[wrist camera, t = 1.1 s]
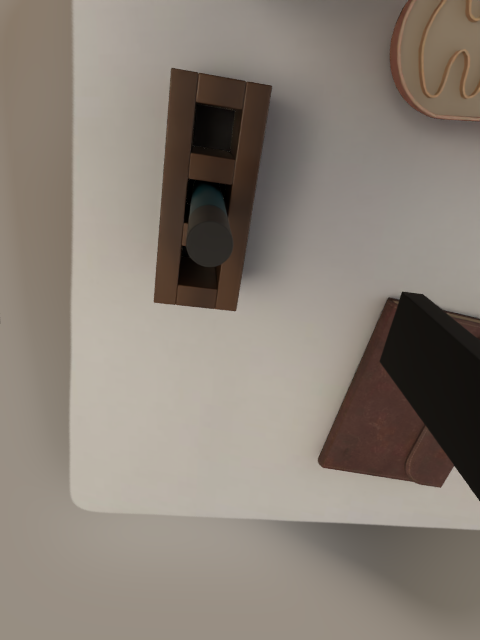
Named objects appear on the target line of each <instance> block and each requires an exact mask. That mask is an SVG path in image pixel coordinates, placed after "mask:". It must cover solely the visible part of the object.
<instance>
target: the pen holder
mask: <svg viewBox="0 0 480 640" xmlns="http://www.w3.org/2000/svg"><path fill="white" fill-rule="evenodd" d="M271 91H272V86H270V85H265V84H259V83H254V82H246V81H242V80H237V79H231V78H225V77H220V76H214V75H209V74H203V73H199V74H198V73H197V72H192V71H186V70H181V69H175V68H172V69H171V78H170V91H169V105H168V118H167V132H166V145H165V158H164V172H163V185H162V198H161V212H160V225H159V238H158V252H157V265H156V278H155V292H154V303H163V304H173V305H175V304H176V305H182V306H192V307H201V308H210V309H220V310H229V311H236V309H237V302H238V296H239V290H240V284H241V278H242V271H243V265H244V259H245V253H246V246H247V240H248V234H249V228H250V222H251V215H252V209H253V203H254V197H255V190H256V184H257V178H258V172H259V166H260V159H261V153H262V147H263V141H264V134H265V128H266V122H267V116H268V110H269V103H270V97H271ZM197 104H198V105H204V106H210V107H216V108H222V109H227V110H233V111H235V115H234V122H233V130H232V137H231V145H230V152H229V151H225V150H219V149H212V148H206V147H200V146H193V138H194V128H195V117H196V107H197ZM189 179H194V180H201V181H208V182H215V183H222V184H225V190H224V198H223V200H224V204H225V208H226V213H227V217H228V221H229V225H230V229H231V233H232V238H233V251H232V253H231V255H230V257H229V258H228V259H227V260H226V261H225V262H224V263H223V264H221V265H219V266H215V267H204V266H201V265H199V264H197V263H196V262H194V261H193V260H192V259H191V258H190V257H182V249H183V246H186V238H187V230H188V222H189V214H190V207H191V204H187V198H188V188H189Z"/></svg>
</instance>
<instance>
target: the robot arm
mask: <svg viewBox="0 0 480 640" xmlns="http://www.w3.org/2000/svg"><path fill="white" fill-rule="evenodd" d="M379 362H380V363H381V365H382V366H383V367H384V369H385V370H386V371H387V373H388V374H389V376H390V377H391V378H392V380H393V381H394V383H395V384H396V385H397V387H398V388H399V390H400V391H401V392H402V394H403V395H404V396H405V398H406V399H407V401H408V402H409V403H410V405H411V406H412V408H413V409H414V410H415V412H416V413H417V415H418V416H419V417H420V419H421V420H422V421H423V423H424V424H425V426H426V427H427V428H428V430H429V431H430V433H431V434H432V435H433V437H434V438H435V440H436V441H437V442H438V444H439V445H440V446H441V448H442V449H443V451H444V452H445V453H446V455H447V456H448V458H449V459H450V460H451V462H452V463H453V465H454V466H455V467H456V469H457V470H458V471H459V473H460V474H461V476H462V477H463V478H464V480H465V481H466V483H467V484H468V485H469V487H470V488H471V490H472V491H473V492H474V494H475V495H476V496H477V498H478V499H479V501H480V340H479V339H478V338H477V337H475V336H474V335H473V334H472V333H470V332H469V331H468V330H467V329H465V328H464V327H463V326H462V325H460V324H459V323H458V322H457V321H455V320H454V319H453V318H452V317H451V316H449V315H448V314H447V313H446V312H444V311H443V310H442V309H441V308H439V307H438V306H437V305H436V304H434V303H433V302H432V301H431V300H429V299H428V298H427V297H426V296H424V295H423V294H417V293H409V292H402V294H401V297H400V300H399V303H398V306H397V309H396V312H395V315H394V318H393V321H392V324H391V327H390V330H389V333H388V337H387V340H386V343H385V346H384V349H383V352H382V355H381V358H380V361H379Z"/></svg>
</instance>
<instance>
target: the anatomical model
mask: <svg viewBox="0 0 480 640" xmlns="http://www.w3.org/2000/svg"><path fill="white" fill-rule="evenodd" d="M390 66H391V72H392V76H393V79H394V82H395V85H396V87H397V89H398V91H399V92H400V94H401V95H402V97H403V98H404V100H405V101H406V102H407V103H408V104H409V105H410V106H411V107H413V108H414V109H416V110H417V111H419V112H421V113H423V114H425V115H426V116H429V117H432V118H437V119H447V120H464V121H480V0H408V1H407V3H406V4H405V6H404V8H403V9H402V11H401V14H400V16H399V18H398V20H397V22H396V25H395V28H394V31H393V35H392V39H391V46H390Z"/></svg>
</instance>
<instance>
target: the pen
mask: <svg viewBox="0 0 480 640" xmlns="http://www.w3.org/2000/svg"><path fill="white" fill-rule="evenodd" d="M186 249H187V252H188V254H189V256H190V257H191V259H192V260H193V261H194V262H196V263H197V264H199V265H201V266H204V267H215V266H219V265H221V264H223V263H224V262H225V261H226V260H227V259H228V258H229V257H230V255H231V253H232V251H233V238H232V233H231V229H230V225H229V221H228V217H227V213H226V208H225V204H224V200H223V196H222V192H221V188H220V184H219V183H215V182H208V181H201V180H195V181H194V184H193V191H192V199H191V207H190V214H189V222H188V230H187V238H186Z"/></svg>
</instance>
